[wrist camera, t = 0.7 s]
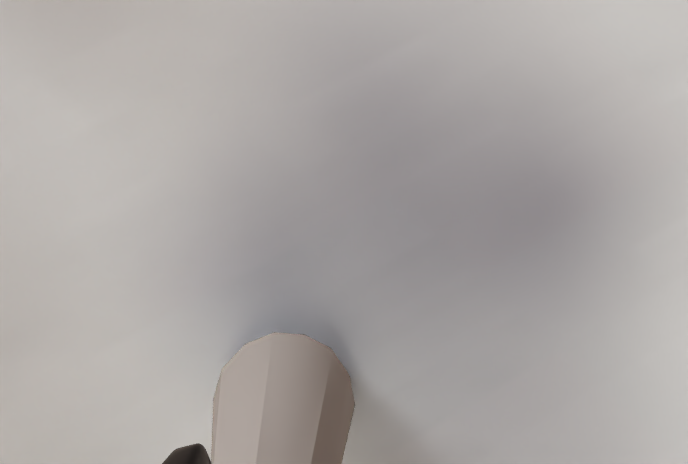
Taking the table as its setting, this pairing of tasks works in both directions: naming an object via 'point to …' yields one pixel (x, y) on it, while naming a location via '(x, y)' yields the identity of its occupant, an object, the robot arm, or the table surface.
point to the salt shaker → (282, 404)
